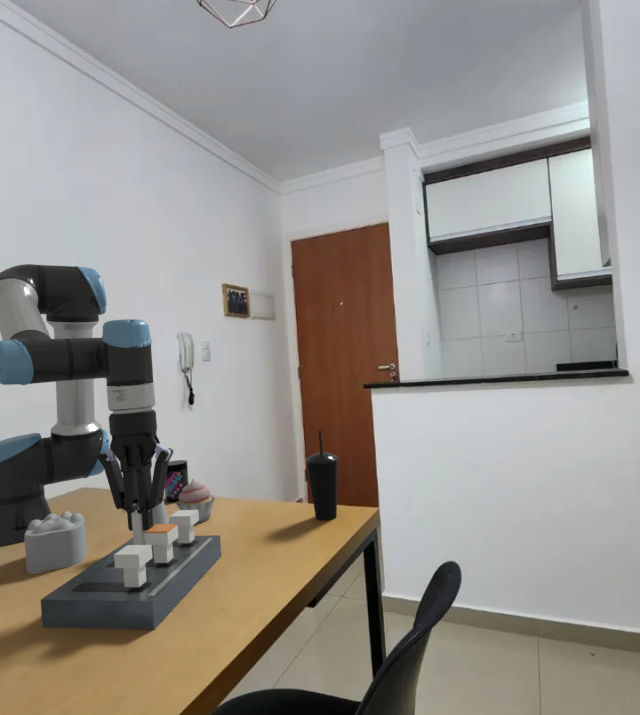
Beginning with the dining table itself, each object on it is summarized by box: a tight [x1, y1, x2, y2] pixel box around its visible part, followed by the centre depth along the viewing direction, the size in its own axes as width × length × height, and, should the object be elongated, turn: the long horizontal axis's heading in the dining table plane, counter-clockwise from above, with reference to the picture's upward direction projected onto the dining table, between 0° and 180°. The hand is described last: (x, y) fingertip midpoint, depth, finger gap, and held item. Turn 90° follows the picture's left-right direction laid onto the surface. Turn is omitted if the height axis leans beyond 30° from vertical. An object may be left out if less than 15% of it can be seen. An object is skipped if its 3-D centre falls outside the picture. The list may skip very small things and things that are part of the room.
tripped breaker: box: [145, 523, 179, 563], centre depth 81 cm, size 4×4×6 cm
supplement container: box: [164, 459, 190, 503], centre depth 136 cm, size 7×7×10 cm
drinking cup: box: [304, 430, 339, 522], centre depth 110 cm, size 8×8×20 cm
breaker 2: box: [169, 509, 199, 543], centre depth 89 cm, size 4×4×5 cm
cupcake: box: [174, 478, 216, 524], centre depth 116 cm, size 9×9×10 cm
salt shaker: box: [152, 500, 170, 526], centre depth 101 cm, size 6×6×13 cm
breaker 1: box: [114, 545, 152, 587], centre depth 72 cm, size 4×4×5 cm
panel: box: [40, 534, 222, 630], centre depth 81 cm, size 18×25×4 cm
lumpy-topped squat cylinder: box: [24, 510, 88, 575], centre depth 98 cm, size 10×13×9 cm
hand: (142, 548), depth 81 cm, fingers closed
